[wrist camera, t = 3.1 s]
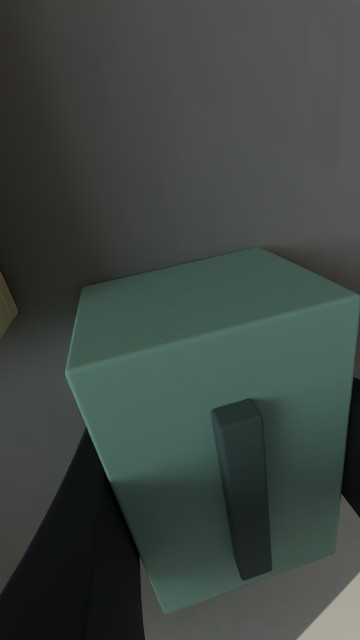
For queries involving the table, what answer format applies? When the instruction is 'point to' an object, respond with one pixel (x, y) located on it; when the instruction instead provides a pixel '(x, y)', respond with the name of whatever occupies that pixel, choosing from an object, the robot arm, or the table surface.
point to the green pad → (219, 414)
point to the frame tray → (6, 307)
